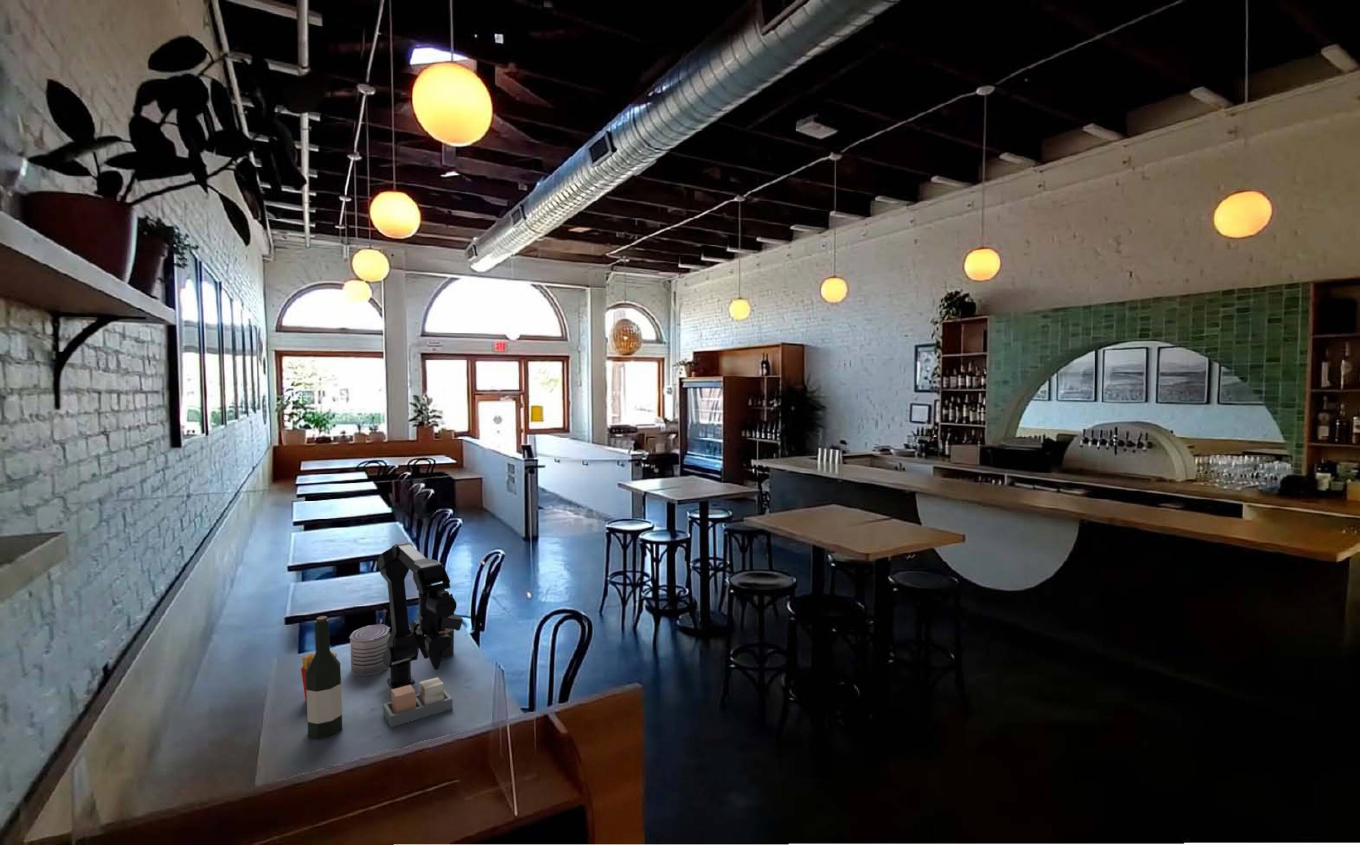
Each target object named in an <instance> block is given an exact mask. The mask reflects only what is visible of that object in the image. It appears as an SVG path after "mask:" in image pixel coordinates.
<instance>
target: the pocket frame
mask: <svg viewBox="0 0 1360 845" xmlns="http://www.w3.org/2000/svg"><path fill="white" fill-rule="evenodd" d="M453 701H454V700H453V697H451V695H450V694H449V693H448V692H447V690H446V689H445V688H444V700H441V701H438V702H434V703H431V704H427V705H424V706H423V705H422V703H421V702H420V693H416V708H414V709H410V710H407V711H403V712H400V713H396V714H393V712H392V703H391V701H388V702H385V703H383V704H382V710H383V711H382V714H383V716H385V717H384V718H385V720H386V722H387V721H388V722H387V724H388V725H389V724H390V725H389V727H390V726H391V727H392V728H395V727H398V726H401V725H400V724H402V725H404V723H405V724H407V722H408V723H411V722H410V721H412V720H415V721H417V720H416V719H418V720H421V719H420V718H422V719H425V718H427V716H428V717H431V716H430V715H432V716H434V715H433V714H435V715H438V714H441V713H444V711H445V712H448V711H451V710H453V708H454V707H453ZM447 710H448V711H447ZM424 717H425V718H424ZM412 722H413V721H412ZM397 725H398V726H397ZM394 726H395V727H394ZM391 727H390V728H391Z"/></svg>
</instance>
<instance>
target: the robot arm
mask: <svg viewBox="0 0 1360 845" xmlns="http://www.w3.org/2000/svg"><path fill="white" fill-rule="evenodd" d="M377 567H378V569H379V572H380V575H381V576H382V578H384V580H385V582H387V592H388V600H389V601H388V602H389V611H390V621H391V623H390V625H391V632H390V636H389V638H388V640H387V649H386V651H385V653H384V655H383V663H384V664H385V665H386V666H387V667H388V668H387V669H389V671H390V672H389V673H390V677H389V678H387V680H386V681H387V683H388V684H389V685H390V687H391V688H392V689H396V688H400V687H403V686H407V685H411V684H414V683H415V682H416V681H415V679H414V678H413V675H412V666H411V665H412V662H413V661H417V660H418V658H419V650H420V653H421V654H422V657H423V659H425V660H426V659H429V660H430V663H431V666H432V668H433V669H434V671H437V670H439V669H440V666H441V662H442V660H443V659H442V656H443V653H444V651H445V650H446V649H448V648H449V647H451V646H452V638H451V637H450V636H449V635H448V634H446V633H445V632H444V633H440V634H439V632H440V631H441V632H442V631H446V629H445V628H447V629H454V631H460V630H461V627H462V625H463V622H464V618H463V617H461V616H460V615H457V614H456V613H455V612H456V609H457V607H458V606H457V601H456V599H455V598H454V596H453V597H451V596H449V595H450V592H449V591H448V589H451V584H450V583H451V580H450V578H449V575H448V572H447V571H446V567H445V566H444V565H443V564H442V562H440V561H438V560H436V559H432V558H431V559H430V558H427V557H425V556H424V555H423V554H422V553H421V552H420V551H419V550H418V549H416V548H415V547H414V545H413V543H412V542H409V541H407V542H406V541H404V542H400V543H399V542H398V543H395V544H394V545H392V546H391V548H389V549H387V550H386V551H383V552H382V553H381V554H380V555H379V557H378V559H377ZM409 571H411V572H412V580H413V581H414V584H415V586H416V591H418V611H417V612H416V616H417V617H418V619H416V620H413V621H412V622H411V623H409V612H408V611H409V610H408V602H407V592H406V582H405V579H406V577H407V575H408V573H409Z"/></svg>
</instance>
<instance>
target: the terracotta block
mask: <svg viewBox="0 0 1360 845" xmlns="http://www.w3.org/2000/svg"><path fill="white" fill-rule="evenodd" d="M416 695H417V693H416V690H415V688H413V686H412V685H411V684H406V685H402V686H399V687H395V688H392V689H390V698H391V701H390V702H391V703H392V712H393V714H396V713H400V712H403V711H407V710H410V709H414V708H416Z"/></svg>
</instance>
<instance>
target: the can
mask: <svg viewBox="0 0 1360 845" xmlns="http://www.w3.org/2000/svg"><path fill="white" fill-rule="evenodd" d="M390 629H391V627H390V626H387V625H386V624H384V623H383V624H381V623H380V624H370V625H366V626H362V627H360V628H358V629H355V630H354V631H353V632H351V634H350V635H349V637H348V638H349V639H350V640H349V641H350V642H349V643H350V670H351V673H352V672H353V673H352V674H353V676H360V675H362V676H363V677H365V675H366V676H372V674H373V675H377V674H379V672H380V673H382V672H384V671H383V670H385V671H387V670H386V669H389V668H388V667H387V666H386V665H385V664H384V663H383V655H384V653H385V651H386V649H387V640H388V638H389V636H390V634H391V632H390ZM381 671H382V672H381ZM376 673H377V674H376Z"/></svg>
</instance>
